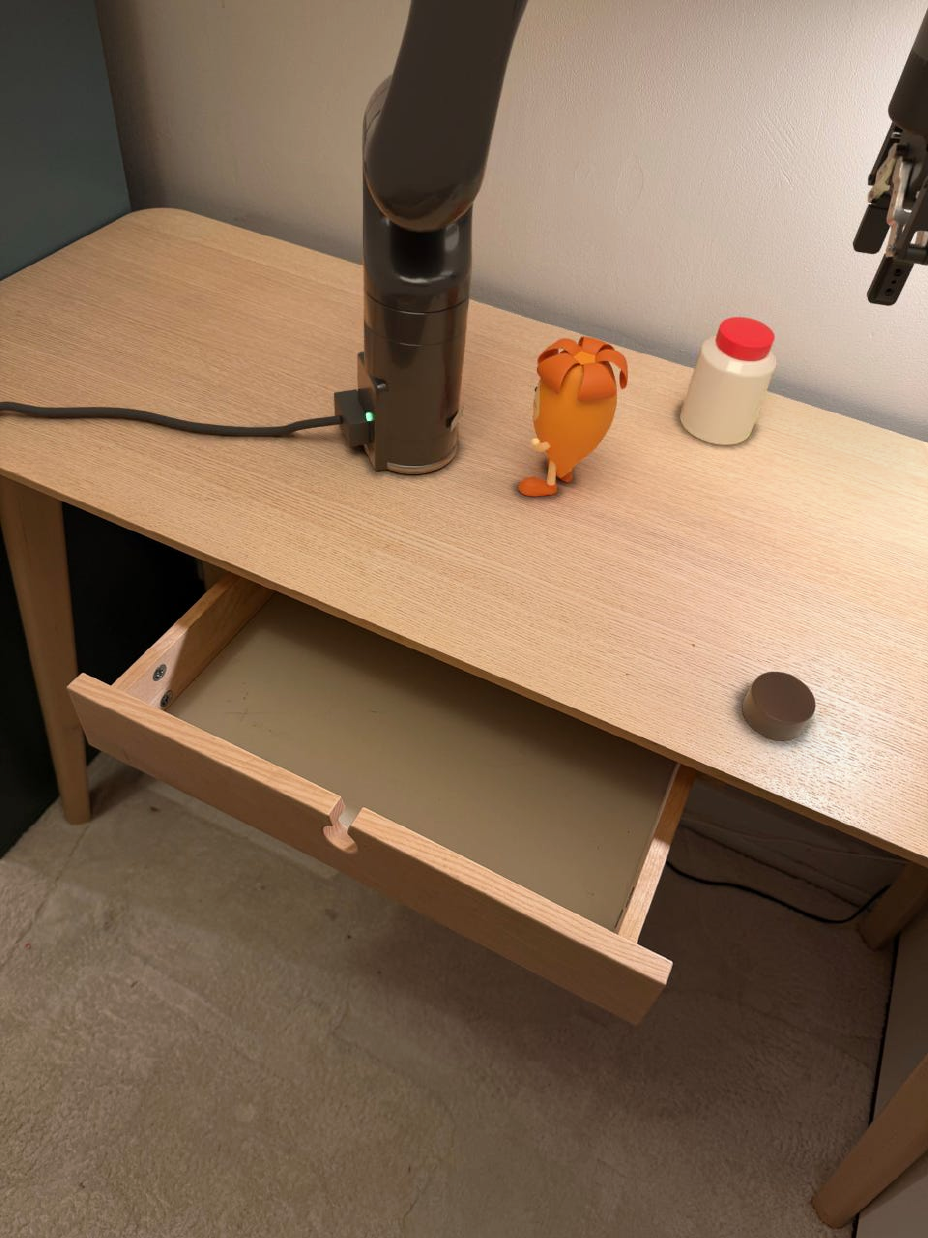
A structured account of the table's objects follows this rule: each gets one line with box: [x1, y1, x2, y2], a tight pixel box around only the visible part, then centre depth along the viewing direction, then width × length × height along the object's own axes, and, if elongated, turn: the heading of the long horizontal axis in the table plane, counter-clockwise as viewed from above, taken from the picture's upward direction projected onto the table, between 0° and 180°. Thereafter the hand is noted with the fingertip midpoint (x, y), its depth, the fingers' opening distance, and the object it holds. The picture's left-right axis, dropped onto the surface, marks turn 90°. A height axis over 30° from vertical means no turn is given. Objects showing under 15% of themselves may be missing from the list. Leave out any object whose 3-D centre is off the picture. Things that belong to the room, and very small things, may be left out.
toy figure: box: [518, 335, 629, 497], centre depth 83 cm, size 12×8×15 cm, turn 143°
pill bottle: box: [679, 316, 778, 446], centre depth 94 cm, size 8×8×11 cm
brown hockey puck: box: [741, 671, 817, 741], centre depth 72 cm, size 5×5×2 cm
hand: (871, 275), depth 74 cm, fingers open, 8 cm apart
